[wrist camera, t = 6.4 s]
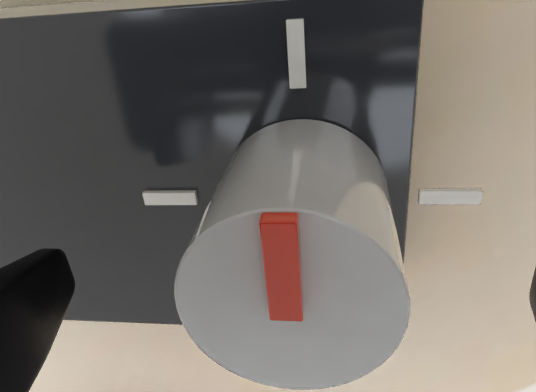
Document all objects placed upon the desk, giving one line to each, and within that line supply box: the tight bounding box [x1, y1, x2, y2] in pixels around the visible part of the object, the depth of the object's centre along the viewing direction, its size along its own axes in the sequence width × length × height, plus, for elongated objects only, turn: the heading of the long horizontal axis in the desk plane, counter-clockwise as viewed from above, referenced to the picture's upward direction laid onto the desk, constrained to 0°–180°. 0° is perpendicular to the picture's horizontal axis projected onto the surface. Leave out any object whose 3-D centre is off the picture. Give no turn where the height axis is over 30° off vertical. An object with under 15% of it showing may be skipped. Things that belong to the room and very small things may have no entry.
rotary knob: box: [174, 119, 410, 390], centre depth 9 cm, size 4×4×4 cm
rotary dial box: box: [0, 0, 484, 325], centre depth 13 cm, size 18×9×3 cm, turn 95°
